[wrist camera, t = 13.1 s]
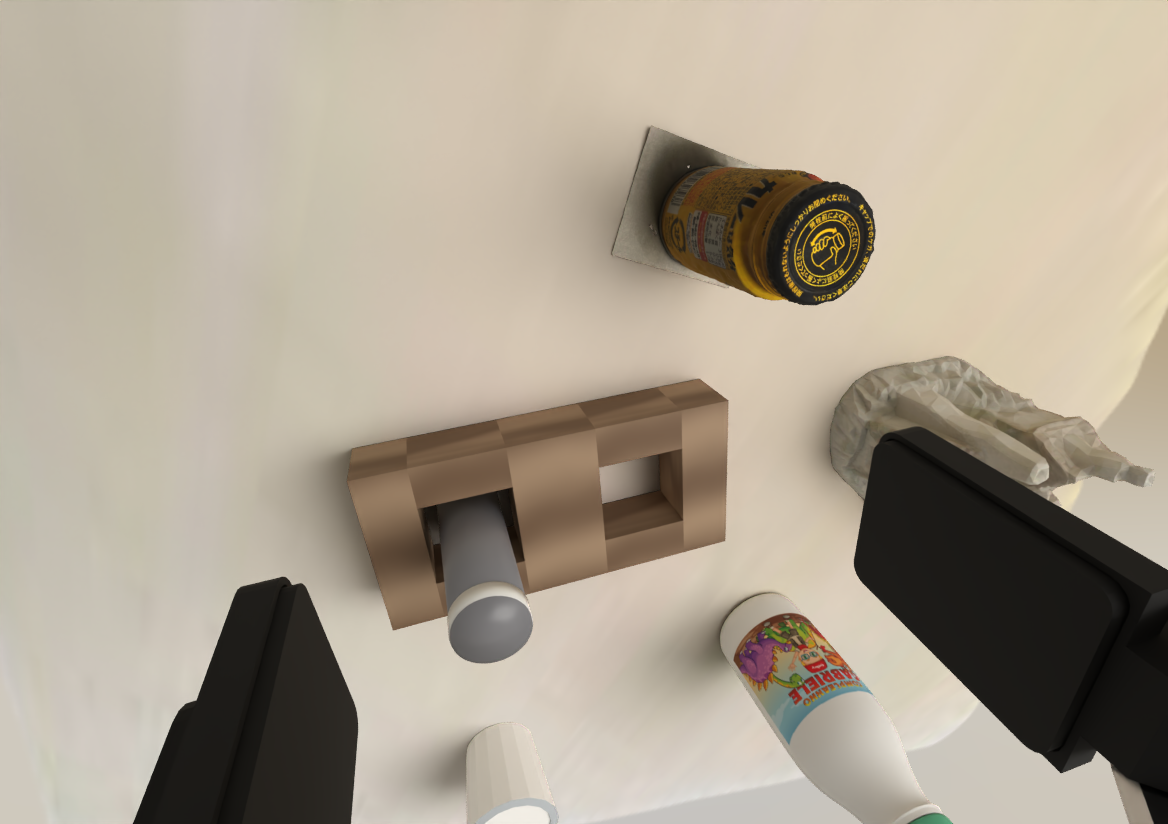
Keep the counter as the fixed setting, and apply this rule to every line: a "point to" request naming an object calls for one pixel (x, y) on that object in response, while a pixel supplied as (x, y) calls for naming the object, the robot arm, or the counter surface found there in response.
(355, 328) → the counter surface
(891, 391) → the gray stone sculpture
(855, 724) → the milk bottle
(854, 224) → the condiment
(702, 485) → the socket block
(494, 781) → the shot glass
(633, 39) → the counter surface
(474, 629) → the grey rounded cylinder
